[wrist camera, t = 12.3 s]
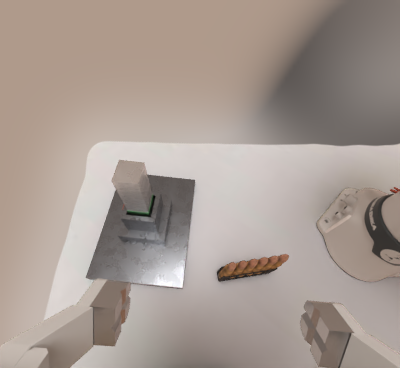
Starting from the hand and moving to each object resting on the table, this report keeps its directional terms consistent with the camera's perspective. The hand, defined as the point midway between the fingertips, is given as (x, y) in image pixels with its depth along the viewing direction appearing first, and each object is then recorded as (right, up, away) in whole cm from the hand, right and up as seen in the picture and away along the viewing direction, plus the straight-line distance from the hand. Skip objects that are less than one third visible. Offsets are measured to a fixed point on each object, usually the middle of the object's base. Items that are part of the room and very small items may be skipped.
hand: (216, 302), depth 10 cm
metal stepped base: (-12, -4, +37) cm, 39 cm away
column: (-12, 0, +32) cm, 34 cm away
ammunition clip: (+8, -13, +34) cm, 37 cm away
